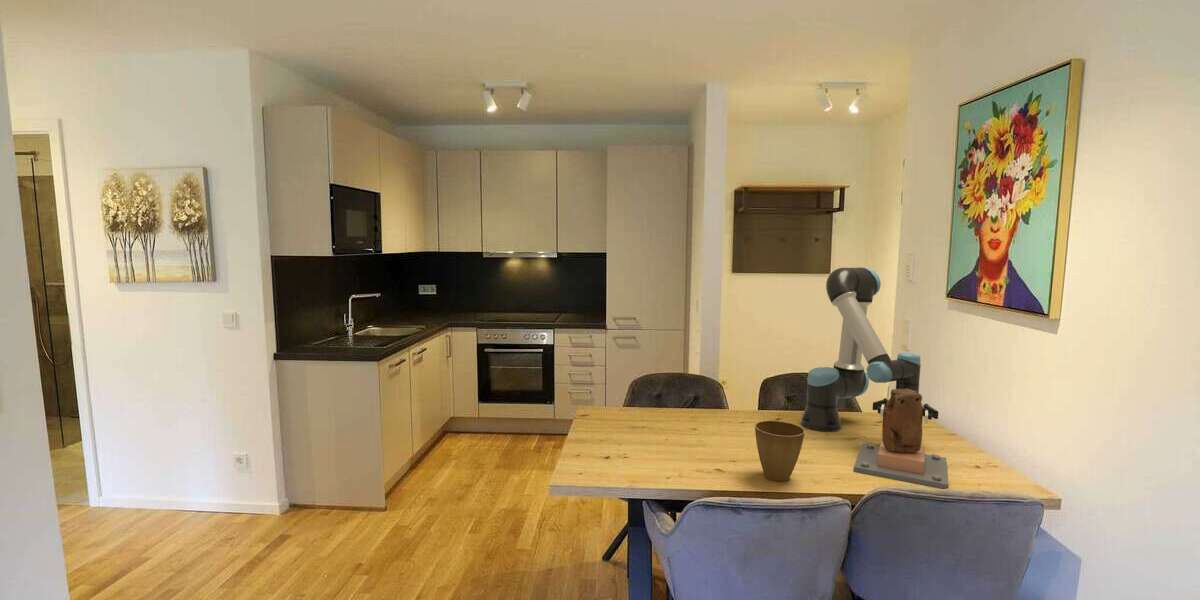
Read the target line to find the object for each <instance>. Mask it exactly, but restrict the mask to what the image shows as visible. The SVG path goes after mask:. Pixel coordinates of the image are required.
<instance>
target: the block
mask: <svg viewBox="0 0 1200 600" xmlns="http://www.w3.org/2000/svg"><path fill="white" fill-rule="evenodd" d="M887 400H888V402H887V405H886V407H885V409H884V413H883V417H882V424H881V425H882V426H881V427H882V428H881V430H882V431H881V434H882V438H881V440H883V444H884V447H885V448H886V449H887V450H889V451H894V452H896V451H899V452H908V453H913V452H917V451H919V450H920V448H921V446H922V442H923V441H922V439H923V417H924V416H923V413H922V406H923V402H922V401H923V396H922V394H920V392H919V393H917V392H916V391H914V390H909V389H905V390H903V389H896V388H895V389H894V388H893V389H891V391H890V398H889V399H887Z"/></svg>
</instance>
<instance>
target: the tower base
mask: <svg viewBox="0 0 1200 600" xmlns="http://www.w3.org/2000/svg"><path fill="white" fill-rule="evenodd" d="M925 447H926V446H922V445H921V448H920V450H919V451H917V452H913V453H908V452H899V451H896V452H894V451H889V450H887V449H886V448H885V447H884V444H883V439H881V442H880V445H879V446H878V445H875V444H874V443H862V444H861V446H860V448H859V452H858V455H857V457H856V459H855V462H854V465H853V472H854V473H861V474H865V475H871V476H875V477H880V478H885V479H886V478H887V479H891V480H897V481H901V482H906V483H910V484H911V483H913V484H917V485H922V486H928V487H933V488H937V487H938V488H939V489H943V488H948V489H949V484H950V483H949V474H948V464H947V463H948V462H947V457H945V456H940V455H938V454H926V453H925V451H926V449H925Z"/></svg>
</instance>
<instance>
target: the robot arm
mask: <svg viewBox="0 0 1200 600" xmlns="http://www.w3.org/2000/svg"><path fill="white" fill-rule="evenodd" d="M825 283H826V284H825V290H826V293H827V296H828V299H829V301H830V302H831V305H832V306H834V307H836V308H837V309H838V312H839V313H840V316H841V317H842V324H841V333H840V343H839V353H838V359H837V360H836V361H835V362H834V363H833V367H829V366H823V367H815V368H812V369H810V370H809V372H808V375H807V380H806V381H807V384H806V385H807V387H806V406H805V409H804V411H803V414H802V416H801V420H800V421H801V423H800V424H801V425H802V426H803V427H804V428H807V429H810V430H813V431H819V432H838V431H840V430H841V429H842V422H841V421H842V420H841V418H840V414H839V410H838V400H841V399H849V398H850V399H851V398H856V397H860V396H862V395H863V394H865V393H866V392H867V390H868V389H869V388H868V387H869V384H870V382H869V381H871V382H873V383H877V384H881V383H883V384H886V383H891V382H895V389H903V390H905V389H909V390H914V391H916V392H917V393H919V394H920V378H921V376H920V375H921V367H922V364H921V355H919V354H918V353H917V354H916V353H913V352H900V353H897V358H896V359H893V360H892V359H891V357H890V356H889V354H888V352H887V350H886V349H885V346H884V344H883V343H882V341H881V339H880V338H879V337H878V335H877V333H876V331H875V329H874V327H873V326H872V324H871V323H870V320H869V319H868V317H867V312H868V306H870V304H872V303H873V299H874V296H876V295H877V294H878V293H879V291H880V289H881V283H882V282H881V278H880V276H879V274H877V272H876V271H875V270H873V269H871V268H870V267H863V266H862V267H860V266H859V267H839V268H837V269H834V270H833V271H832V272H830V274H829V275H828V277H827V279H826V282H825ZM862 356H863V357H864V359H865V360H866V362H867V367H866V371H865V367H864V365H863V364H862ZM888 400H889V399H888V398H887V397H886V398H885V397H884V398H882V399H881V400H877V401H873V402H872V411H877V414H879V415H880V418H883V413H884V409H885V407H886V405H887V402H888ZM922 413H923V417H924V424H925V425H928V423H929V420H932V419H934V420H938V419H939V410H937V409H936V408H933V407H932V406H930V404H928V403H924V404H923V403H922Z"/></svg>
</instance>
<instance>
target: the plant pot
mask: <svg viewBox="0 0 1200 600" xmlns="http://www.w3.org/2000/svg"><path fill="white" fill-rule="evenodd" d="M754 430H755V431H754V432H755V433H754V434H755V442H756V447H757V453H758V457H759V462H760V464H761V468H762V471H763V475H764V476H765V478H766V479H767V480H770V481H774V482H781V483H782V482H787V481H789V480H790V479H791V476H792V475H793V472H794V470H795V467H796V465H797V462H798V459H799V456H800V453H801V449H802V447H803V442H804V437H805V433H806V430H805V429H804V428H803V427H802V426H800V425H797V424H795V423H792V422H789V421H788V422H787V421H780V420H761V421H758V422H756V423H754Z"/></svg>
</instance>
